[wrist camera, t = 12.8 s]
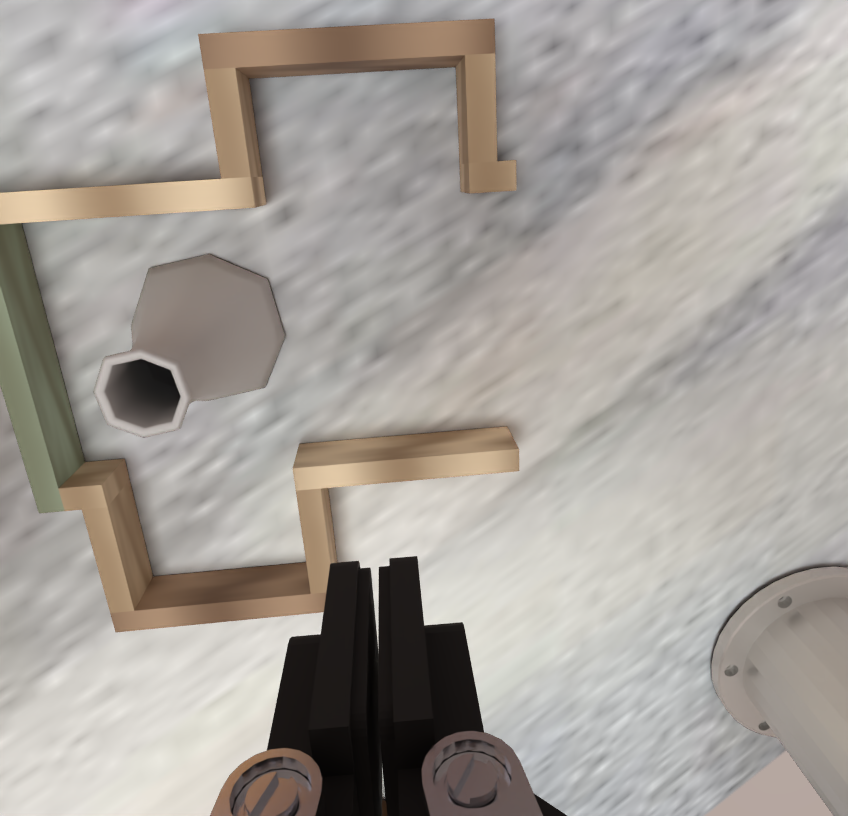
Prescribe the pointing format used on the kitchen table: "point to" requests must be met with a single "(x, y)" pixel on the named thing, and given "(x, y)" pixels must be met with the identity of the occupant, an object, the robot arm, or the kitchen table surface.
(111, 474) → the zigzag wooden frame
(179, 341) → the flask
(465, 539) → the kitchen table surface
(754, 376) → the kitchen table surface
